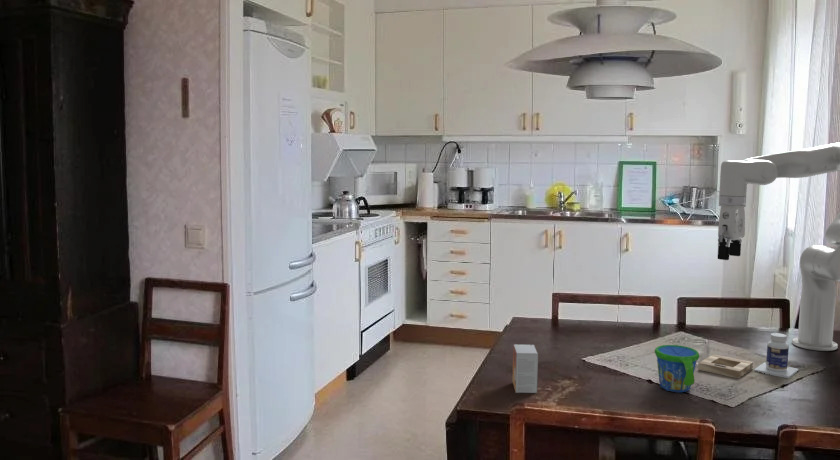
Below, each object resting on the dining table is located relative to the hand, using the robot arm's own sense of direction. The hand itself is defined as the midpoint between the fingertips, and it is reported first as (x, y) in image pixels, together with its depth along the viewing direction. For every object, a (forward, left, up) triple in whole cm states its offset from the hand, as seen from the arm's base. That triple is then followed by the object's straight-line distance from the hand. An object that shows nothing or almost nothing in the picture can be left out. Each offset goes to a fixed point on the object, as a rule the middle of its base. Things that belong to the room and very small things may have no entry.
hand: (729, 257), depth 223 cm
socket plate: (+21, +8, -28) cm, 36 cm away
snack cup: (+46, +4, -28) cm, 54 cm away
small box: (+72, -25, -29) cm, 81 cm away
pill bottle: (+13, +19, -28) cm, 36 cm away
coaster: (+13, +19, -28) cm, 36 cm away
